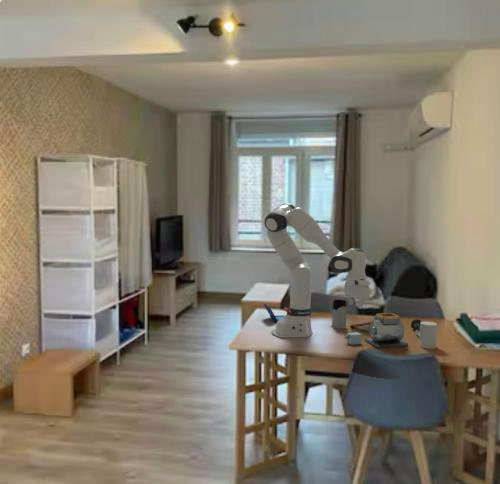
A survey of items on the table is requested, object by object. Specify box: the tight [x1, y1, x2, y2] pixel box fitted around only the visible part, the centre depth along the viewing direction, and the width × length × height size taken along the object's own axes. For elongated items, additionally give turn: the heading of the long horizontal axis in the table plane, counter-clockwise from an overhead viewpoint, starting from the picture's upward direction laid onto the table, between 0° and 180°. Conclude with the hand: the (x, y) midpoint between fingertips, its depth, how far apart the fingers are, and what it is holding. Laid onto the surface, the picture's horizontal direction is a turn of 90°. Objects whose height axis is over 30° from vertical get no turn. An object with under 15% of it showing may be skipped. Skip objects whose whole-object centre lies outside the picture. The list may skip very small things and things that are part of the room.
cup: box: [418, 321, 438, 350], centre depth 280 cm, size 8×8×12 cm
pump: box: [344, 331, 363, 346], centre depth 284 cm, size 8×4×5 cm, turn 108°
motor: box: [364, 312, 409, 349], centre depth 284 cm, size 17×14×15 cm
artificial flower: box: [410, 318, 423, 338], centre depth 303 cm, size 9×22×10 cm, turn 167°
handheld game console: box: [263, 303, 285, 324], centre depth 331 cm, size 16×13×9 cm
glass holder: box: [329, 299, 347, 329], centre depth 320 cm, size 9×14×15 cm, turn 24°
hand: (355, 306), depth 283 cm, fingers open, 8 cm apart
